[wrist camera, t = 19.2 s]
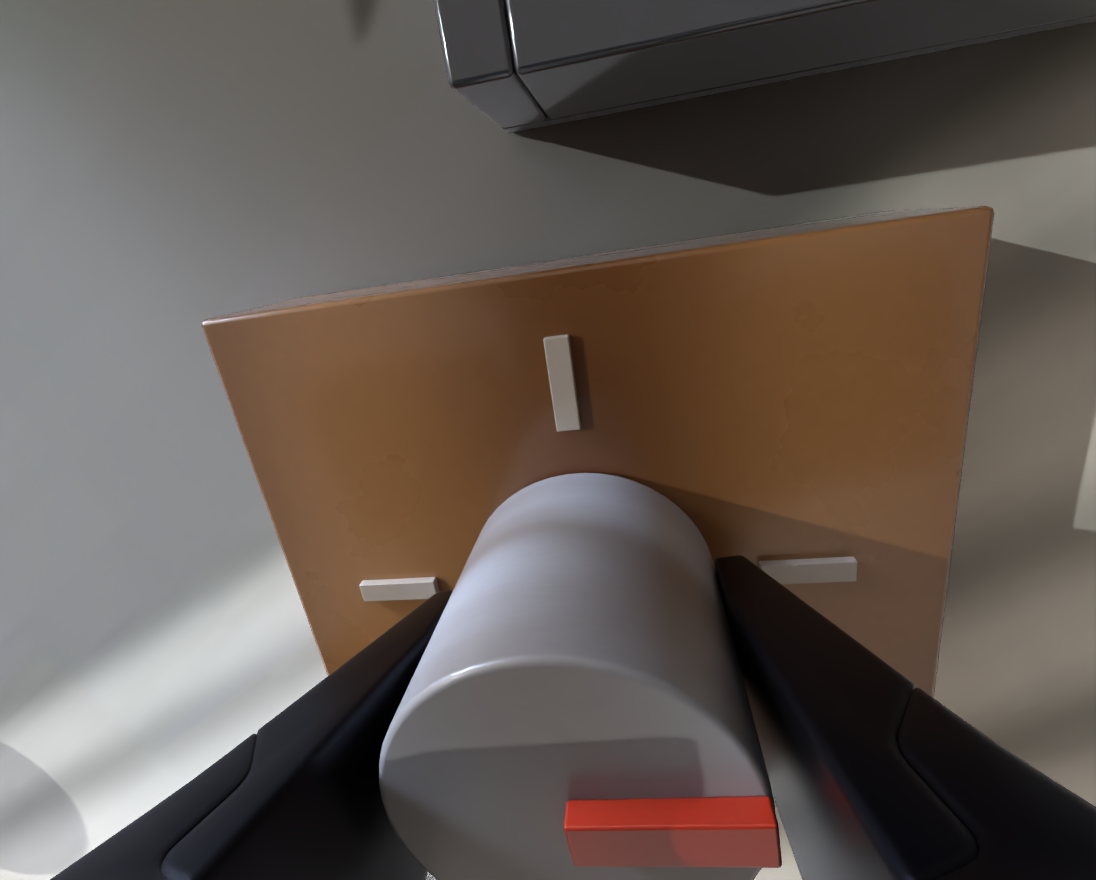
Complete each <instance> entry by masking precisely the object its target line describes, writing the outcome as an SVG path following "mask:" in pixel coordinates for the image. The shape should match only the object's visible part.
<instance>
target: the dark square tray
mask: <svg viewBox="0 0 1096 880" xmlns="http://www.w3.org/2000/svg"><path fill="white" fill-rule="evenodd" d="M434 5H435V11H436V16H437V22H438V27H439V33H440V38H441V44H442V50H443V55H444V61H445V66H446V72H447V77H448V83H449V85H450V87H451V88H452V89H453V90H455V91H456V92H457V93H458V94H460V95H461V96H462V97H464V98H465V99H466V100H467V101H469V102H470V103H471V104H472V105H474V106H475V107H476V108H478V109H479V110H480V111H481V112H483V113H484V114H485V115H487V116H488V117H489V118H490V119H492V120H493V121H494V122H495V123H497V124H498V125H499V126H501V127H502V128H503V129H504V130H505V131H506V132H508V133H512V132H517V131H522V130H528V129H533V128H538V127H543V126H549V125H554V124H559V123H564V122H569V121H575V120H580V119H585V118H590V117H596V116H601V115H606V114H611V113H617V112H622V111H627V110H632V109H638V108H643V107H648V106H653V105H659V104H664V103H669V102H674V101H679V100H685V99H690V98H695V97H700V96H706V95H711V94H716V93H721V92H727V91H732V90H737V89H742V88H748V87H753V86H758V85H763V84H769V83H774V82H779V81H784V80H789V79H795V78H800V77H805V76H810V75H816V74H821V73H826V72H831V71H837V70H842V69H847V68H852V67H858V66H863V65H868V64H873V63H879V62H884V61H889V60H894V59H899V58H905V57H910V56H915V55H920V54H926V53H931V52H936V51H941V50H947V49H952V48H957V47H962V46H968V45H973V44H978V43H983V42H989V41H994V40H999V39H1004V38H1009V37H1015V36H1020V35H1025V34H1030V33H1036V32H1041V31H1046V30H1051V29H1057V28H1062V27H1067V26H1072V25H1078V24H1083V23H1088V22H1093V21H1096V0H434Z"/></svg>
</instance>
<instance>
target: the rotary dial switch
mask: <svg viewBox="0 0 1096 880" xmlns="http://www.w3.org/2000/svg"><path fill="white" fill-rule="evenodd" d="M993 217H994V212H993V209H992V208H991V207H987V206H980V207H960V208H939V209H919V210H899V211H883V212H876V213H869V214H862V215H856V216H849V217H842V218H835V219H829V220H822V221H815V222H808V223H802V224H795V225H788V226H781V227H774V228H768V229H761V230H754V231H747V232H741V233H734V234H727V235H720V236H714V237H707V238H700V239H693V240H687V241H680V242H673V243H666V244H659V245H653V246H646V247H639V248H632V249H626V250H619V251H612V252H605V253H599V254H592V255H585V256H578V257H571V258H565V259H558V260H551V261H544V262H538V263H531V264H524V265H517V266H511V267H504V268H497V269H490V270H483V271H477V272H470V273H463V274H456V275H450V276H443V277H436V278H429V279H423V280H416V281H409V282H402V283H396V284H389V285H382V286H375V287H368V288H362V289H355V290H348V291H341V292H335V293H328V294H321V295H314V296H308V297H302V298H298V299H293V300H289V301H284V302H280V303H276V304H271V305H267V306H262V307H258V308H254V309H249V310H245V311H240V312H236V313H232V314H227V315H223V316H218V317H214V318H210V319H206V320H205V321H203V322H202V327H203V330H204V333H205V336H206V339H207V341H208V344H209V347H210V350H211V352H212V355H213V358H214V361H215V364H216V366H217V369H218V372H219V375H220V377H221V380H222V383H223V386H224V388H225V391H226V394H227V397H228V400H229V402H230V405H231V408H232V411H233V413H234V416H235V419H236V422H237V425H238V427H239V430H240V433H241V436H242V438H243V441H244V444H245V447H246V449H247V452H248V455H249V458H250V461H251V463H252V466H253V469H254V472H255V474H256V477H257V480H258V483H259V486H260V488H261V491H262V494H263V497H264V499H265V502H266V505H267V508H268V511H269V513H270V516H271V519H272V522H273V524H274V527H275V530H276V533H277V535H278V538H279V541H280V544H281V547H282V549H283V552H284V555H285V558H286V560H287V563H288V566H289V569H290V572H291V574H292V577H293V580H294V583H295V585H296V588H297V591H298V594H299V596H300V599H301V602H302V605H303V608H304V610H305V613H306V616H307V619H308V621H309V624H310V627H311V630H312V633H313V635H314V638H315V641H316V644H317V646H318V649H319V652H320V655H321V657H322V660H323V663H324V666H325V669H326V671H327V674H328V676H329V675H330V674H332V673H333V672H334V671H336V670H337V669H338V668H340V667H341V666H342V665H343V664H345V663H346V662H347V661H349V660H350V659H351V658H352V657H354V656H355V655H356V654H358V653H359V652H360V651H362V650H363V649H364V648H365V647H367V646H368V645H369V644H371V643H372V642H373V641H375V640H376V639H377V638H378V637H380V636H381V635H382V634H384V633H385V632H386V631H387V630H389V629H390V628H391V627H393V626H394V625H395V624H397V623H398V622H399V621H400V620H402V619H403V618H404V617H406V616H407V615H408V614H410V613H411V612H412V611H413V610H415V609H416V608H417V607H419V606H420V605H421V604H423V603H424V602H425V601H426V600H428V599H429V598H430V597H432V596H433V595H434V594H436V593H437V592H440V591H448V590H454V588H455V586H456V583H457V581H458V579H459V577H460V575H461V573H462V571H463V568H464V566H465V564H466V562H467V560H468V558H469V556H470V554H471V551H472V549H473V547H474V545H475V543H476V541H477V539H478V537H479V534H480V532H481V530H482V529H483V527H484V525H485V524H486V522H487V520H488V519H489V517H490V516H491V515H492V514H493V513H494V511H495V510H496V509H497V508H498V507H499V506H500V505H501V504H502V503H503V502H504V501H506V500H507V499H508V498H509V497H511V496H512V495H514V494H515V493H517V492H518V491H520V490H521V489H523V488H525V487H527V486H529V485H531V484H533V483H536V482H539V481H542V480H545V479H548V478H551V477H555V476H560V475H565V474H575V473H600V474H607V475H613V476H618V477H622V478H625V479H629V480H632V481H635V482H638V483H640V484H642V485H645V486H647V487H649V488H651V489H653V490H655V491H657V492H658V493H660V494H662V495H663V496H665V497H667V498H668V499H669V500H670V501H672V502H673V503H674V504H676V505H677V506H678V507H679V508H680V509H681V510H682V511H683V512H684V513H685V514H686V515H687V516H688V517H689V518H690V519H691V520H692V521H693V523H694V524H695V525H696V527H697V528H698V529H699V531H700V533H701V534H702V536H703V538H704V540H705V542H706V543H707V546H708V549H709V551H710V554H711V557H712V561H713V564H714V568H715V560H716V559H717V558H720V557H728V556H736V555H741V556H744V557H745V558H747V559H748V560H749V561H751V562H752V563H753V564H755V565H756V566H757V567H759V568H760V569H761V570H763V571H764V572H765V573H767V574H768V575H769V576H771V577H772V578H773V579H775V580H776V581H777V582H779V583H780V584H781V585H783V586H784V587H785V588H787V589H788V590H789V591H791V592H792V593H793V594H795V595H796V596H797V597H799V598H800V599H801V600H803V601H804V602H805V603H807V604H808V605H809V606H811V607H812V608H813V609H815V610H816V611H817V612H819V613H820V614H821V615H823V616H824V617H825V618H827V619H828V620H829V621H831V622H832V623H834V624H835V625H836V626H838V627H839V628H840V629H842V630H843V631H844V632H846V633H847V634H848V635H850V636H851V637H852V638H854V639H855V640H856V641H858V642H859V643H860V644H862V645H863V646H864V647H866V648H867V649H868V650H870V651H871V652H872V653H874V654H875V655H876V656H878V657H879V658H880V659H882V660H883V661H884V662H886V663H887V664H888V665H890V666H891V667H892V668H894V669H895V670H896V671H898V672H899V673H900V674H902V675H903V676H904V677H906V678H907V679H908V680H910V681H911V682H912V683H913V684H914V685H915V688H921V689H922V690H923V691H925V692H926V693H927V694H929V695H930V696H931V697H934V689H935V681H936V673H937V665H938V657H939V649H940V641H941V633H942V625H943V617H944V609H945V601H946V593H947V585H948V577H949V569H950V561H951V553H952V545H953V537H954V529H955V521H956V513H957V505H958V497H959V489H960V481H961V473H962V465H963V457H964V449H965V441H966V433H967V425H968V417H969V409H970V401H971V393H972V385H973V377H974V369H975V361H976V353H977V345H978V337H979V329H980V321H981V313H982V305H983V297H984V289H985V281H986V273H987V265H988V257H989V249H990V241H991V233H992V225H993ZM715 572H716V571H715Z"/></svg>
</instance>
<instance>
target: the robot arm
mask: <svg viewBox="0 0 1096 880" xmlns="http://www.w3.org/2000/svg"><path fill="white" fill-rule="evenodd" d="M715 571H716V576H717V580H718V584H719V588H720V591H721V595H722V599H723V603H724V607H725V611H726V615H727V619H728V622H729V626H730V630H731V634H732V638H733V641H734V645H735V649H736V653H737V657H738V661H739V665H740V668H741V672H742V676H743V680H744V684H745V688H746V692H747V695H748V699H749V703H750V707H751V711H752V715H753V718H754V722H755V726H756V730H757V734H758V738H759V742H760V745H761V749H762V753H763V757H764V761H765V765H766V769H767V772H768V776H769V780H770V784H771V788H772V794H773V797H774V800H775V803H776V806H777V809H778V811H779V814H780V817H781V820H782V823H783V826H784V829H785V831H786V834H787V837H788V840H789V843H790V846H791V848H792V851H793V854H794V857H795V860H796V863H797V866H798V868H799V871H800V874H801V877H802V880H1096V807H1095V806H1093V805H1092V804H1090V803H1089V802H1087V801H1085V800H1084V799H1082V798H1081V797H1079V796H1077V795H1076V794H1074V793H1073V792H1071V791H1070V790H1068V789H1066V788H1065V787H1063V786H1062V785H1060V784H1058V783H1057V782H1055V781H1054V780H1052V779H1051V778H1049V777H1047V776H1046V775H1044V774H1043V773H1041V772H1040V771H1038V770H1037V769H1035V768H1034V767H1032V766H1031V765H1029V764H1028V763H1026V762H1024V761H1023V760H1021V759H1020V758H1018V757H1017V756H1015V755H1014V754H1012V753H1011V752H1009V751H1008V750H1006V749H1005V748H1003V747H1002V746H1000V745H998V744H997V743H995V742H994V741H992V740H991V739H990V738H988V737H987V736H985V735H984V734H983V733H981V732H980V731H978V730H977V729H976V728H974V727H973V726H971V725H970V724H969V723H967V722H966V721H964V720H963V719H962V718H960V717H959V716H957V715H956V714H955V713H953V712H952V711H950V710H949V709H947V708H946V707H945V706H943V705H942V704H941V703H939V702H938V701H937V700H935V699H934V698H933V697H931V696H930V695H929V694H927V693H926V692H925V691H923V690H922V689H921V688H915V685H914V684H913V683H912V682H911V681H910V680H908V679H907V678H906V677H904V676H903V675H902V674H900V673H899V672H898V671H896V670H895V669H894V668H892V667H891V666H890V665H888V664H887V663H886V662H884V661H883V660H882V659H880V658H879V657H878V656H876V655H875V654H874V653H872V652H871V651H870V650H868V649H867V648H866V647H864V646H863V645H862V644H860V643H859V642H858V641H856V640H855V639H854V638H852V637H851V636H850V635H848V634H847V633H846V632H844V631H843V630H842V629H840V628H839V627H838V626H836V625H835V624H834V623H832V622H831V621H829V620H828V619H827V618H825V617H824V616H823V615H821V614H820V613H819V612H817V611H816V610H815V609H813V608H812V607H811V606H809V605H808V604H807V603H805V602H804V601H803V600H801V599H800V598H799V597H797V596H796V595H795V594H793V593H792V592H791V591H789V590H788V589H787V588H785V587H784V586H783V585H781V584H780V583H779V582H777V581H776V580H775V579H773V578H772V577H771V576H769V575H768V574H767V573H765V572H764V571H763V570H761V569H760V568H759V567H757V566H756V565H755V564H753V563H752V562H751V561H749V560H748V559H747V558H745V557H744V556H741V555H736V556H728V557H720V558H717V559H716V560H715ZM452 592H453V590H448V591H440V592H437V593H436V594H434V595H433V596H432V597H430V598H429V599H428V600H426V601H425V602H424V603H423V604H421V605H420V606H419V607H417V608H416V609H415V610H413V611H412V612H411V613H410V614H408V615H407V616H406V617H404V618H403V619H402V620H400V621H399V622H398V623H397V624H395V625H394V626H393V627H391V628H390V629H389V630H387V631H386V632H385V633H384V634H382V635H381V636H380V637H378V638H377V639H376V640H375V641H373V642H372V643H371V644H369V645H368V646H367V647H365V648H364V649H363V650H362V651H360V652H359V653H358V654H356V655H355V656H354V657H352V658H351V659H350V660H349V661H347V662H346V663H345V664H343V665H342V666H341V667H340V668H338V669H337V670H336V671H334V672H333V673H332V674H330V675H329V676H328V677H327V678H325V679H324V680H323V681H321V682H320V683H319V684H317V685H316V686H315V687H314V688H312V689H311V690H310V691H308V692H307V693H306V694H304V695H303V696H302V697H301V698H299V699H298V700H297V701H295V702H294V703H293V704H292V705H290V706H289V707H288V708H286V709H285V710H284V711H282V712H281V713H280V714H279V715H277V716H276V717H275V718H273V719H272V720H271V721H269V722H268V723H267V724H266V725H264V726H263V727H262V728H260V729H259V730H258V733H257V734H252V735H251V736H250V737H248V738H247V739H246V740H245V741H243V742H242V743H241V744H239V745H238V746H237V747H236V748H234V749H233V750H232V751H230V752H229V753H228V754H226V755H225V756H224V757H222V758H221V759H220V760H218V761H217V762H216V763H214V764H213V765H212V766H210V767H209V768H208V769H206V770H205V771H204V772H202V773H201V774H200V775H198V776H197V777H196V778H194V779H193V780H192V781H190V782H189V783H188V784H186V785H185V786H183V787H182V788H181V789H179V790H178V791H176V792H175V793H173V794H172V795H171V796H169V797H168V798H166V799H165V800H164V801H162V802H161V803H159V804H158V805H157V806H155V807H154V808H152V809H151V810H150V811H148V812H147V813H145V814H144V815H142V816H141V817H140V818H138V819H137V820H135V821H134V822H132V823H131V824H129V825H128V826H127V827H125V828H124V829H122V830H121V831H119V832H118V833H117V834H115V835H114V836H112V837H111V838H109V839H108V840H106V841H105V842H104V843H102V844H101V845H99V846H98V847H96V848H95V849H94V850H92V851H91V852H89V853H88V854H86V855H85V856H83V857H82V858H81V859H79V860H78V861H76V862H75V863H73V864H72V865H70V866H69V867H68V868H66V869H65V870H63V871H62V872H60V873H59V874H58V875H56V876H55V877H53V878H52V879H50V880H425V879H426V875H427V870H426V869H425V868H424V867H423V866H422V865H421V864H420V863H419V862H418V861H417V860H416V859H415V858H414V857H413V855H412V854H411V853H410V852H409V851H408V850H407V848H406V847H405V846H404V844H403V843H402V841H401V840H400V838H399V837H398V836H397V834H396V832H395V830H394V828H393V826H392V824H391V823H390V821H389V819H388V816H387V813H386V811H385V808H384V805H383V802H382V797H381V791H380V786H379V760H380V754H381V749H382V744H383V741H384V739H385V736H386V734H387V731H388V729H389V726H390V724H391V722H392V720H393V718H394V715H395V713H396V711H397V709H398V707H399V705H400V703H401V701H402V698H403V696H404V694H405V692H406V690H407V688H408V686H409V684H410V681H411V679H412V677H413V675H414V673H415V671H416V669H417V666H418V664H419V662H420V660H421V658H422V656H423V654H424V652H425V649H426V647H427V645H428V643H429V641H430V639H431V637H432V635H433V632H434V630H435V628H436V626H437V624H438V622H439V620H440V617H441V615H442V613H443V611H444V609H445V607H446V605H447V603H448V600H449V598H450V596H451V594H452Z"/></svg>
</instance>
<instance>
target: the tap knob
mask: <svg viewBox="0 0 1096 880" xmlns="http://www.w3.org/2000/svg"><path fill="white" fill-rule="evenodd" d="M379 786H380V791H381V797H382V802H383V805H384V808H385V811H386V813H387V816H388V819H389V821H390V823H391V824H392V826H393V828H394V830H395V832H396V834H397V836H398V837H399V838H400V840H401V841H402V843H403V844H404V846H405V847H406V848H407V850H408V851H409V852H410V853H411V854H412V855H413V857H414V858H415V859H416V860H417V861H418V862H419V863H420V864H421V865H422V866H423V867H424V868H425V869H426V870H427V871H428V872H429V873H431V874H432V875H433V876H434V877H435V878H436V879H437V880H754V878H755V877H756V875H757V874H758V872H759V871H760V869H761V868H779V867H781V865H782V859H781V849H780V838H779V828H778V822H777V819H776V815H775V804H774V799H773V794H772V788H771V784H770V780H769V776H768V772H767V769H766V765H765V761H764V757H763V753H762V749H761V745H760V742H759V738H758V734H757V730H756V726H755V722H754V718H753V715H752V711H751V707H750V703H749V699H748V695H747V692H746V688H745V684H744V680H743V676H742V672H741V668H740V665H739V661H738V657H737V653H736V649H735V645H734V641H733V638H732V634H731V630H730V626H729V622H728V619H727V615H726V611H725V607H724V603H723V599H722V595H721V591H720V588H719V584H718V580H717V576H716V572H715V568H714V564H713V561H712V557H711V554H710V551H709V549H708V546H707V543H706V542H705V540H704V538H703V536H702V534H701V533H700V531H699V529H698V528H697V527H696V525H695V524H694V523H693V521H692V520H691V519H690V518H689V517H688V516H687V515H686V514H685V513H684V512H683V511H682V510H681V509H680V508H679V507H678V506H677V505H676V504H674V503H673V502H672V501H670V500H669V499H668V498H667V497H665V496H663V495H662V494H660V493H658V492H657V491H655V490H653V489H651V488H649V487H647V486H645V485H642V484H640V483H638V482H635V481H632V480H629V479H625V478H622V477H618V476H613V475H607V474H600V473H575V474H565V475H560V476H555V477H551V478H548V479H545V480H542V481H539V482H536V483H533V484H531V485H529V486H527V487H525V488H523V489H521V490H520V491H518V492H517V493H515V494H514V495H512V496H511V497H509V498H508V499H507V500H506V501H504V502H503V503H502V504H501V505H500V506H499V507H498V508H497V509H496V510H495V511H494V513H493V514H492V515H491V516H490V517H489V519H488V520H487V522H486V524H485V525H484V527H483V529H482V530H481V532H480V534H479V537H478V539H477V541H476V543H475V545H474V547H473V549H472V551H471V554H470V556H469V558H468V560H467V562H466V564H465V566H464V568H463V571H462V573H461V575H460V577H459V579H458V581H457V583H456V586H455V588H454V590H453V592H452V594H451V596H450V598H449V600H448V603H447V605H446V607H445V609H444V611H443V613H442V615H441V617H440V620H439V622H438V624H437V626H436V628H435V630H434V632H433V635H432V637H431V639H430V641H429V643H428V645H427V647H426V649H425V652H424V654H423V656H422V658H421V660H420V662H419V664H418V666H417V669H416V671H415V673H414V675H413V677H412V679H411V681H410V684H409V686H408V688H407V690H406V692H405V694H404V696H403V698H402V701H401V703H400V705H399V707H398V709H397V711H396V713H395V715H394V718H393V720H392V722H391V724H390V726H389V729H388V731H387V734H386V736H385V739H384V741H383V744H382V749H381V754H380V760H379Z"/></svg>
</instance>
